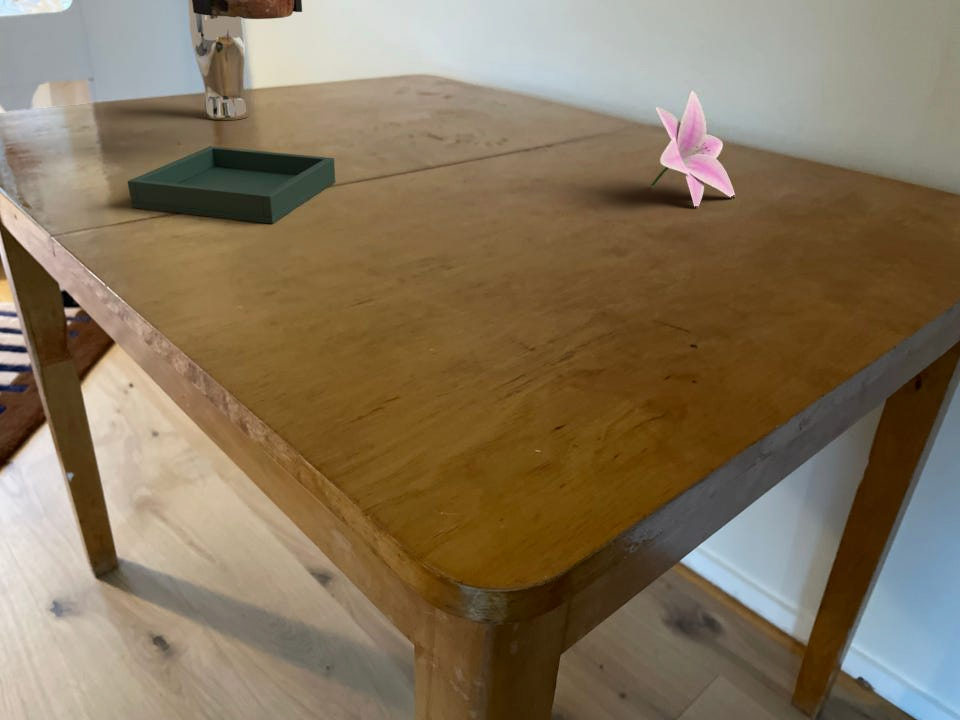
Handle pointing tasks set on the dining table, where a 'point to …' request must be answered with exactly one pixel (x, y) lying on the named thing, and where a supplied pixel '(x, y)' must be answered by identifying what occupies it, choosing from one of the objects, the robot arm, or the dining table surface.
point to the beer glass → (220, 63)
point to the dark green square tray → (233, 184)
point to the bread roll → (252, 8)
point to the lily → (693, 151)
